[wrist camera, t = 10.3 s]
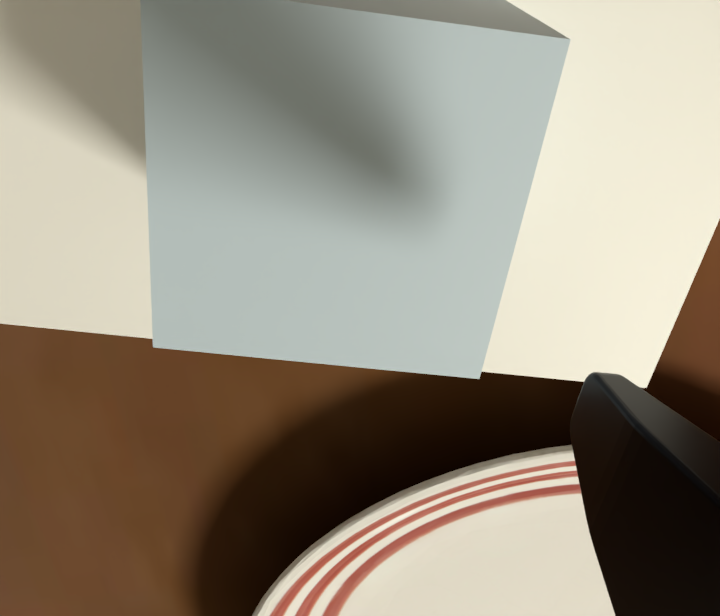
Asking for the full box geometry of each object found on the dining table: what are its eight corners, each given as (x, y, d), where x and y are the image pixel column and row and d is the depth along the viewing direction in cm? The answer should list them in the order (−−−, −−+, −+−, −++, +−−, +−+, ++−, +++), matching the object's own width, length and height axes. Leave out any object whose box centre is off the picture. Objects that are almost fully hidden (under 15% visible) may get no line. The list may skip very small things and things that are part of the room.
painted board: (5, 269, 21) (-43, 319, 19) (-87, -312, 14) (-183, -361, 12) (613, 333, 23) (646, 388, 20) (803, -166, 16) (891, -181, 13)
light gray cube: (212, 216, 17) (153, 346, 12) (216, -46, 14) (139, -20, 9) (442, 241, 18) (479, 379, 13) (494, -7, 15) (570, 39, 10)
